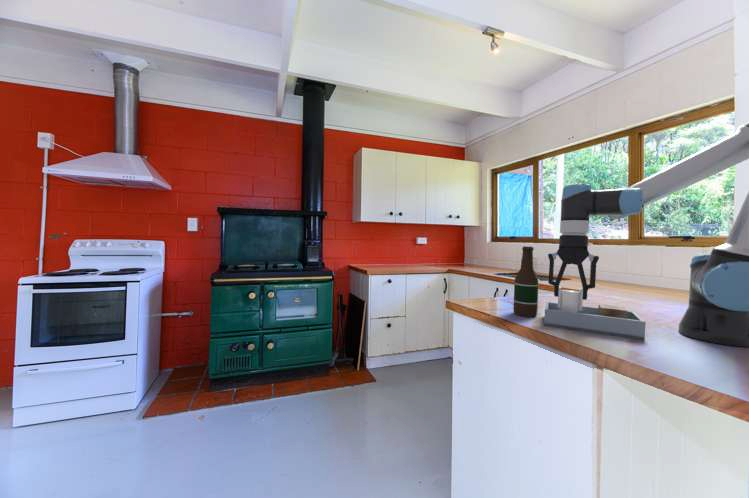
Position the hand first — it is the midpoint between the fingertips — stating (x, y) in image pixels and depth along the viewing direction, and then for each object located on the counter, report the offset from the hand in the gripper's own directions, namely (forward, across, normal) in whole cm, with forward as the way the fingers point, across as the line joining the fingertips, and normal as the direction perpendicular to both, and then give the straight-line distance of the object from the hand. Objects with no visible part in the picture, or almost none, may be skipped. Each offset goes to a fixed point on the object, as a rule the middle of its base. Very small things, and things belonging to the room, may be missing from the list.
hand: (569, 308), depth 96 cm
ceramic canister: (+3, 0, 0) cm, 3 cm away
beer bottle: (+5, +13, -5) cm, 15 cm away
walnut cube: (+4, -11, 0) cm, 12 cm away
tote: (+5, -5, 0) cm, 7 cm away
